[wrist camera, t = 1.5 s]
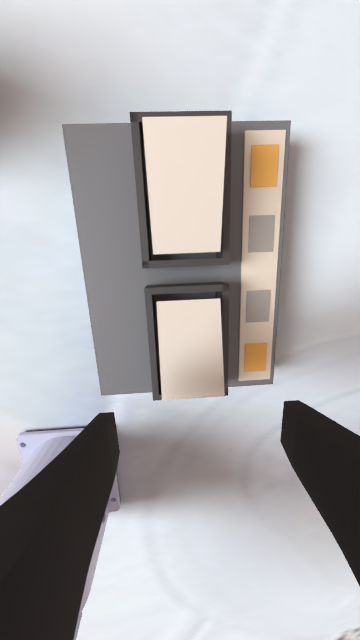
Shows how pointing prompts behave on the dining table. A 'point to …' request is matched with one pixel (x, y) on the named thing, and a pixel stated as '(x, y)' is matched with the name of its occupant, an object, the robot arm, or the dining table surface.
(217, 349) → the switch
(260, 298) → the switch panel
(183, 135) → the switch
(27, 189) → the dining table surface
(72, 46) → the dining table surface
